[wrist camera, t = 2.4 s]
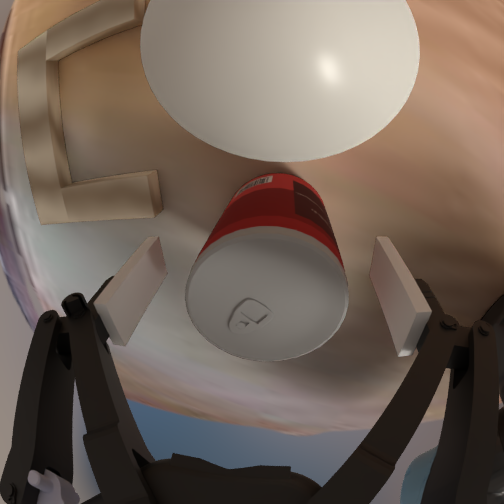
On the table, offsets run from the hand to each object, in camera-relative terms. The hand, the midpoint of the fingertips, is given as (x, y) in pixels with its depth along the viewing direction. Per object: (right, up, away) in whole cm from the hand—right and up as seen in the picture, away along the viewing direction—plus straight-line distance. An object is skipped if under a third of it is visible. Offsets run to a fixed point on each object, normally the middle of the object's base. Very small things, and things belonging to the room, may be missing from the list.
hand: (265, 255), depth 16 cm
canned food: (+1, +3, +6) cm, 7 cm away
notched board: (-16, +13, +3) cm, 21 cm away
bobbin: (+2, +12, 0) cm, 13 cm away
